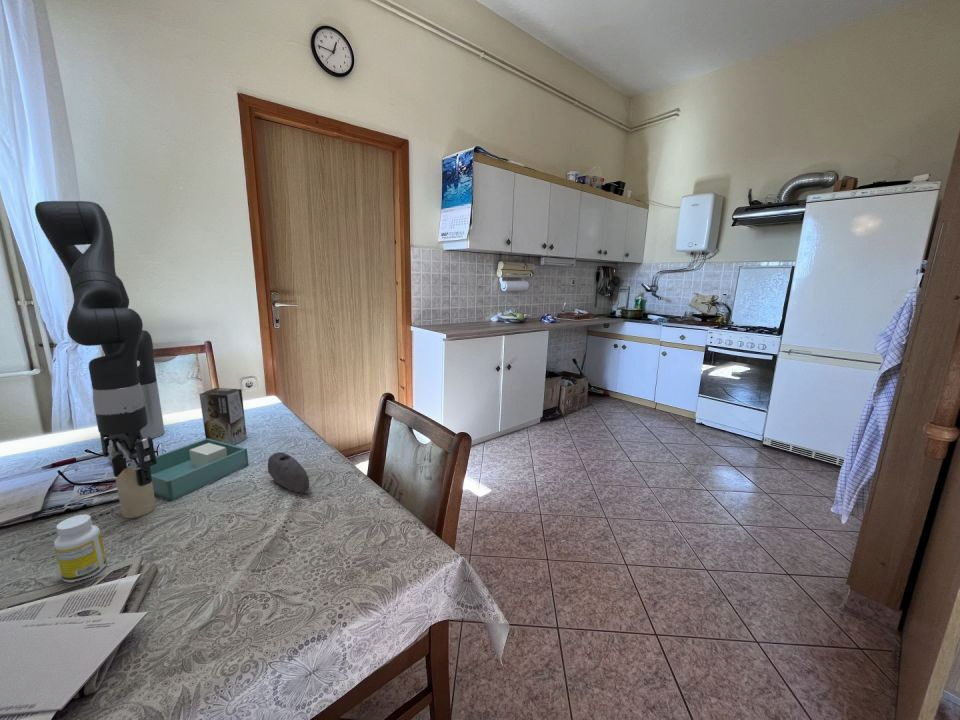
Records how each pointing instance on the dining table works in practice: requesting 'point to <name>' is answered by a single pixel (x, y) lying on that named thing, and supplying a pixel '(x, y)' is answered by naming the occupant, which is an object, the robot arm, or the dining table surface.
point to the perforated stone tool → (288, 472)
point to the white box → (206, 454)
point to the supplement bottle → (79, 548)
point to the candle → (134, 495)
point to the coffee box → (223, 415)
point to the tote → (192, 469)
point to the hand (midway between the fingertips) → (133, 479)
